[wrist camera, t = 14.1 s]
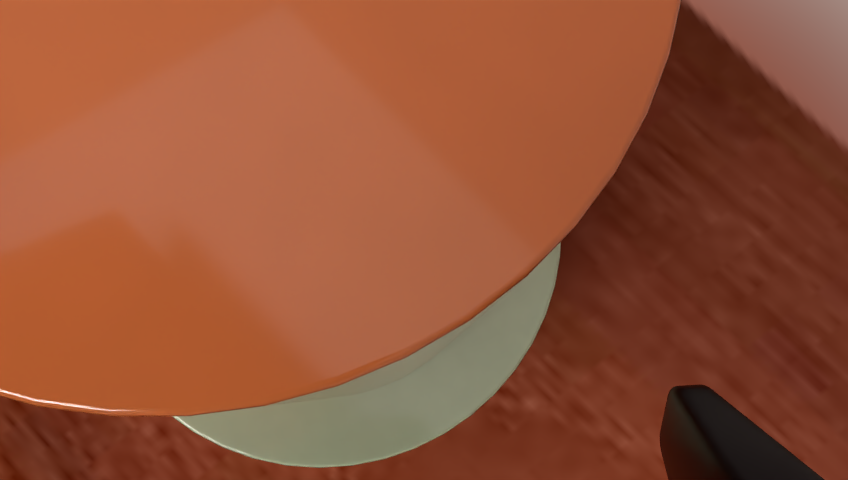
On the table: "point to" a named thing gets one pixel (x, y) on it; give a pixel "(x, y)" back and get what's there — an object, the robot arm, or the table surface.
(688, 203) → the table surface
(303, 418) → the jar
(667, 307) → the table surface
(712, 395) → the robot arm
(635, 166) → the table surface
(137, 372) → the orange cylinder
